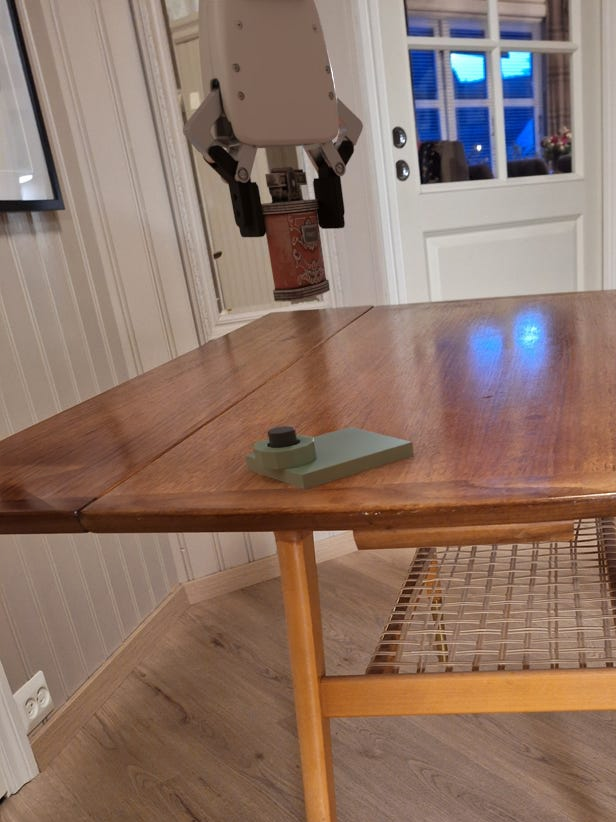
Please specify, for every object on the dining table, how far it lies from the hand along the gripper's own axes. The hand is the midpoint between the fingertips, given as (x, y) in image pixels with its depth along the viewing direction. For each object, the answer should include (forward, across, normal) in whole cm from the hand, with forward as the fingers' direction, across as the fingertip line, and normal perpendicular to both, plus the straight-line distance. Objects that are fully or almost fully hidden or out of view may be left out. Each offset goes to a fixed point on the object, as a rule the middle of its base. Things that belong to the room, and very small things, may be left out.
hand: (293, 230), depth 75 cm
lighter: (+5, 0, 0) cm, 5 cm away
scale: (+20, +2, +3) cm, 20 cm away
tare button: (+17, +6, +3) cm, 18 cm away
